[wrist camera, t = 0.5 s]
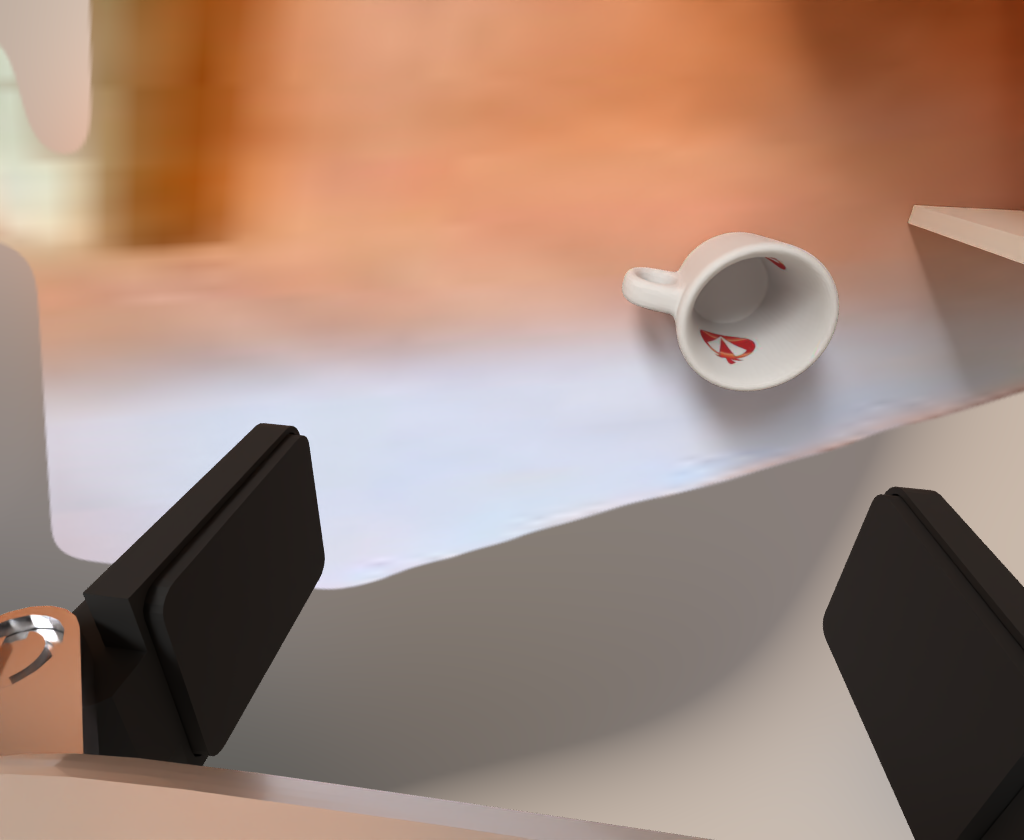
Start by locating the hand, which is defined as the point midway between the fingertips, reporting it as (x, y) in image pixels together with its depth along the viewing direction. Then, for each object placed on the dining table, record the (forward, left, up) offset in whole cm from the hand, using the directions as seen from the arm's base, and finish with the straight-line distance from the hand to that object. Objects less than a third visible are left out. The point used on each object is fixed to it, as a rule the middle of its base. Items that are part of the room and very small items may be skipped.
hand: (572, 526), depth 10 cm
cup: (+3, +8, -30) cm, 31 cm away
